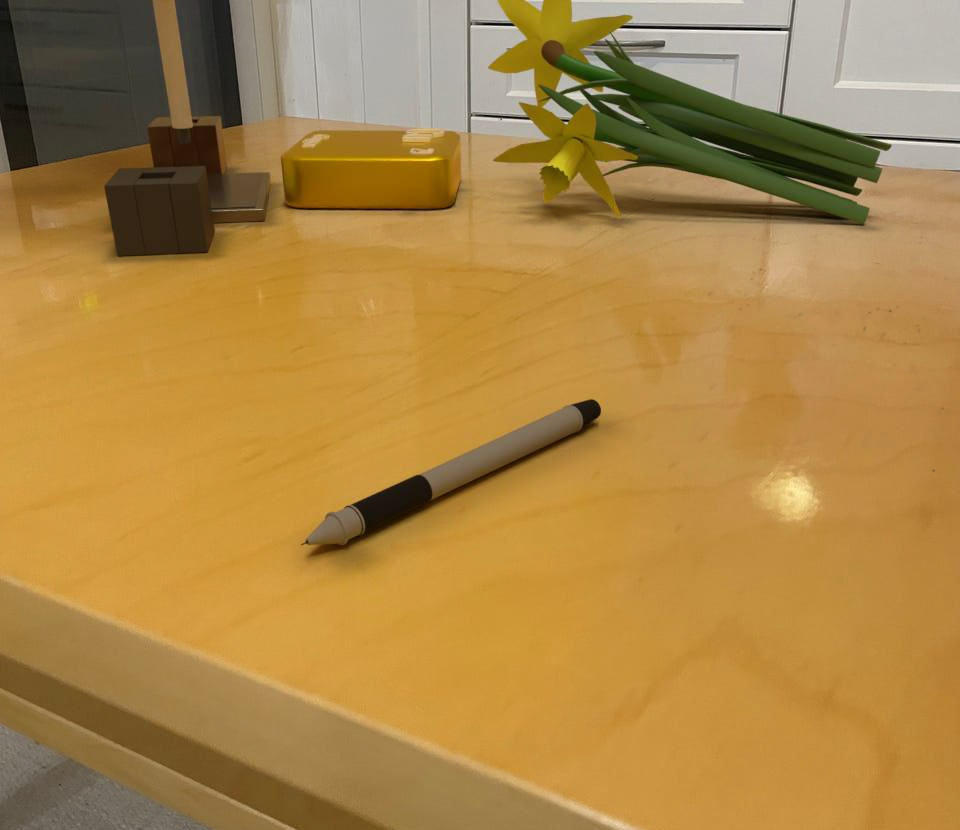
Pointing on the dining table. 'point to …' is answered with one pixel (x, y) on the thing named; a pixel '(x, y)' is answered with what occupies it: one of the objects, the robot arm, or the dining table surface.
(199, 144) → the stand
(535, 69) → the daffodil flowers
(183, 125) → the tan wooden bar
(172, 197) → the holder
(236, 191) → the tablet
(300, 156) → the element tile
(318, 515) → the dining table surface
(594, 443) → the dining table surface
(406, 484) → the pen
